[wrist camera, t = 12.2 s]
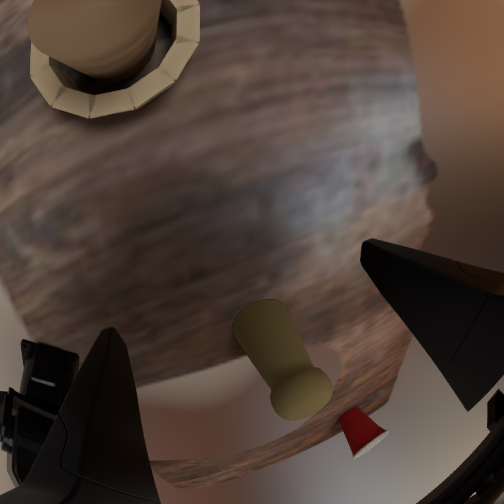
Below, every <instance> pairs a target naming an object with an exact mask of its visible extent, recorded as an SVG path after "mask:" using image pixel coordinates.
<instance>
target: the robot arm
mask: <svg viewBox="0 0 504 504" xmlns="http://www.w3.org/2000/svg"><path fill="white" fill-rule="evenodd" d="M360 262H361V265H362V267H363V268H364V270H365V271H366V272H367V274H368V275H369V277H370V278H371V280H372V281H373V283H374V284H375V286H376V287H377V288H378V290H379V291H380V293H381V294H382V296H383V297H384V298H385V299H386V301H387V302H388V303H389V304H390V306H391V307H392V308H393V309H394V311H395V312H396V313H397V314H398V316H399V317H400V318H401V319H402V321H403V322H404V323H405V324H406V326H407V327H408V328H409V330H410V331H411V332H412V333H413V335H414V336H415V337H416V339H417V340H418V341H419V343H420V344H421V345H422V347H423V348H424V349H425V351H426V352H427V353H428V355H429V356H430V357H431V359H432V360H433V362H434V363H435V365H436V366H437V367H438V369H439V370H440V371H441V373H442V375H443V376H444V378H445V379H446V380H447V382H448V383H449V385H450V386H451V388H452V389H453V391H454V392H455V394H456V395H457V397H458V398H459V400H460V401H461V403H462V404H463V406H464V408H465V409H466V410H467V411H470V410H471V409H472V408H473V407H474V406H475V405H476V404H477V403H478V402H479V401H480V400H481V399H482V398H483V397H484V396H485V395H486V394H487V393H488V392H489V391H490V390H491V388H493V386H495V385H496V386H497V387H498V389H497V391H496V392H495V393H494V395H493V396H492V397H491V399H490V400H489V401H488V403H487V408H488V409H487V412H488V414H487V416H488V417H487V428H488V429H489V431H490V433H489V434H488V435H487V437H486V438H485V439H484V440H483V441H482V442H481V444H480V445H479V446H478V447H477V448H476V449H475V450H474V452H473V453H472V454H471V455H470V456H469V457H468V458H467V459H466V460H465V461H464V462H463V463H462V464H461V465H460V466H459V467H458V468H457V469H456V470H455V471H454V472H453V473H452V474H451V475H450V476H449V477H447V478H446V479H445V480H444V481H443V482H442V483H441V484H440V485H439V486H437V487H436V488H435V489H434V490H433V491H432V492H430V493H429V494H428V495H427V496H425V497H424V498H423V499H422V500H420V501H419V502H418V503H416V504H504V273H503V272H499V271H494V270H490V269H486V268H482V267H478V266H474V265H470V264H466V263H463V262H459V261H456V260H455V261H454V260H452V259H449V258H445V257H442V256H438V255H434V254H431V253H427V252H424V251H420V250H416V249H412V248H409V247H405V246H401V245H397V244H393V243H389V242H385V241H381V240H377V239H373V238H371V239H368V240H366V241H364V242H363V243H362V247H361V257H360ZM21 351H22V358H23V365H24V371H23V376H22V382H21V387H20V393H18V392H16V391H14V389H13V388H11V387H9V390H8V392H5V391H0V442H1V449H2V450H3V451H5V452H7V472H8V474H9V476H10V478H11V480H12V482H13V484H14V485H15V487H16V488H14V489H12V490H10V491H8V492H6V493H4V494H2V495H0V504H161V503H160V499H159V495H158V492H157V488H156V485H155V482H154V478H153V474H152V470H151V466H150V462H149V458H148V453H147V449H146V444H145V439H144V434H143V429H142V424H141V418H140V412H139V405H138V398H137V392H136V387H135V382H134V378H133V374H132V369H131V365H130V360H129V355H128V351H127V347H126V344H125V343H124V341H123V340H122V338H121V337H120V335H119V334H118V332H117V331H116V329H115V328H114V327H109V328H106V329H103V330H102V331H101V332H100V334H99V336H98V337H97V339H96V341H95V343H94V344H93V346H92V348H91V350H90V352H89V353H88V355H87V357H86V359H85V361H84V363H83V364H82V366H81V368H80V370H79V372H78V361H79V357H78V356H77V355H76V354H73V353H69V352H65V351H61V350H58V349H54V348H51V347H47V346H44V345H41V344H37V343H34V342H31V341H28V340H25V339H23V340H22V341H21ZM77 373H78V374H77ZM474 492H476V494H475V495H473V496H472V497H470V496H471V495H472V494H473V493H474Z"/></svg>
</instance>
